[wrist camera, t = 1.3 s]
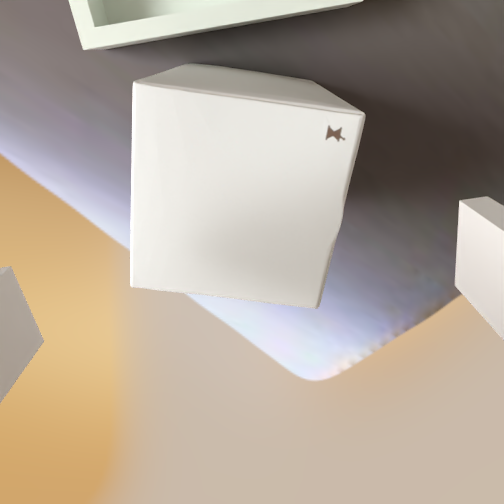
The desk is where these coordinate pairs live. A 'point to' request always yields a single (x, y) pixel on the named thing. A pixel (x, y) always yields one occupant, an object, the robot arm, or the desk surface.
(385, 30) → the desk surface
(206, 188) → the supplement box
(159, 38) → the tote
